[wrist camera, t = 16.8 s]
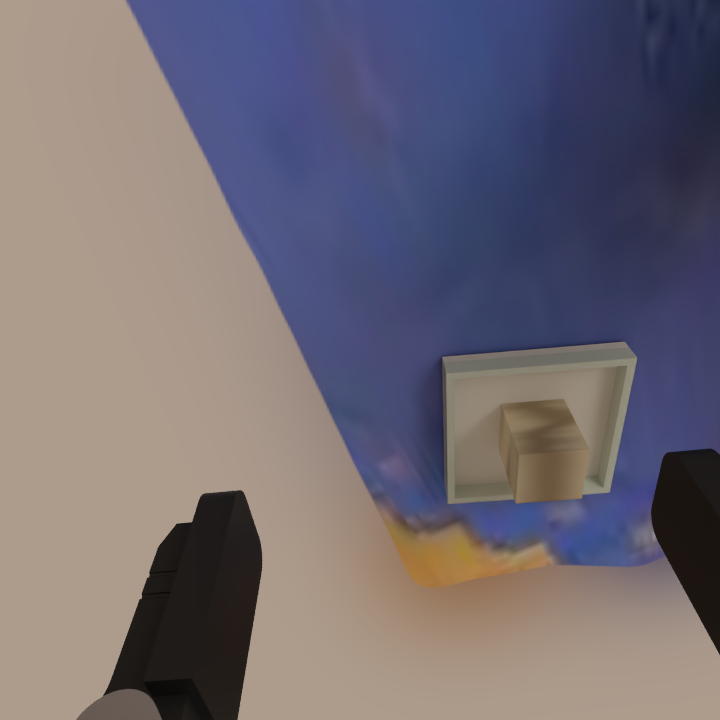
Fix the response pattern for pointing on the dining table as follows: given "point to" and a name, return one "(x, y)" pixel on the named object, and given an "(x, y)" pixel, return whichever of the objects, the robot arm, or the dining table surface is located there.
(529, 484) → the birch block
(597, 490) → the dish
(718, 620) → the robot arm
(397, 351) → the dining table surface
